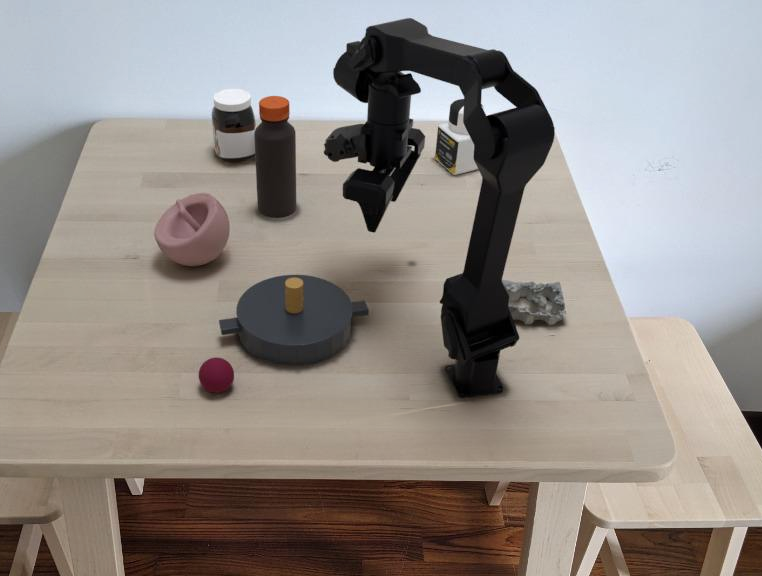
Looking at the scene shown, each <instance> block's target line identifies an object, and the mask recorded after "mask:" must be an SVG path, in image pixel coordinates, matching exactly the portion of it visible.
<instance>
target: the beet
mask: <svg viewBox="0 0 762 576" xmlns="http://www.w3.org/2000/svg"><path fill="white" fill-rule="evenodd" d="M234 379H235V371H234V368H233V366H232V365H231V363H230V362H229V361H227V360H226V359H224V358H222V357H210V358H208V359H206V360H205V361H203V363H202V364H201V366H200V367H199V370H198V380H199V383H200V385H201V386H202V387H203V388H204V389H205V390H206V391H208V392H210V393H214V394H218V393H223V392H225V391H227V390H228V389H229V388H230V387H231V386H232V384H233V383H234Z"/></svg>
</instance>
